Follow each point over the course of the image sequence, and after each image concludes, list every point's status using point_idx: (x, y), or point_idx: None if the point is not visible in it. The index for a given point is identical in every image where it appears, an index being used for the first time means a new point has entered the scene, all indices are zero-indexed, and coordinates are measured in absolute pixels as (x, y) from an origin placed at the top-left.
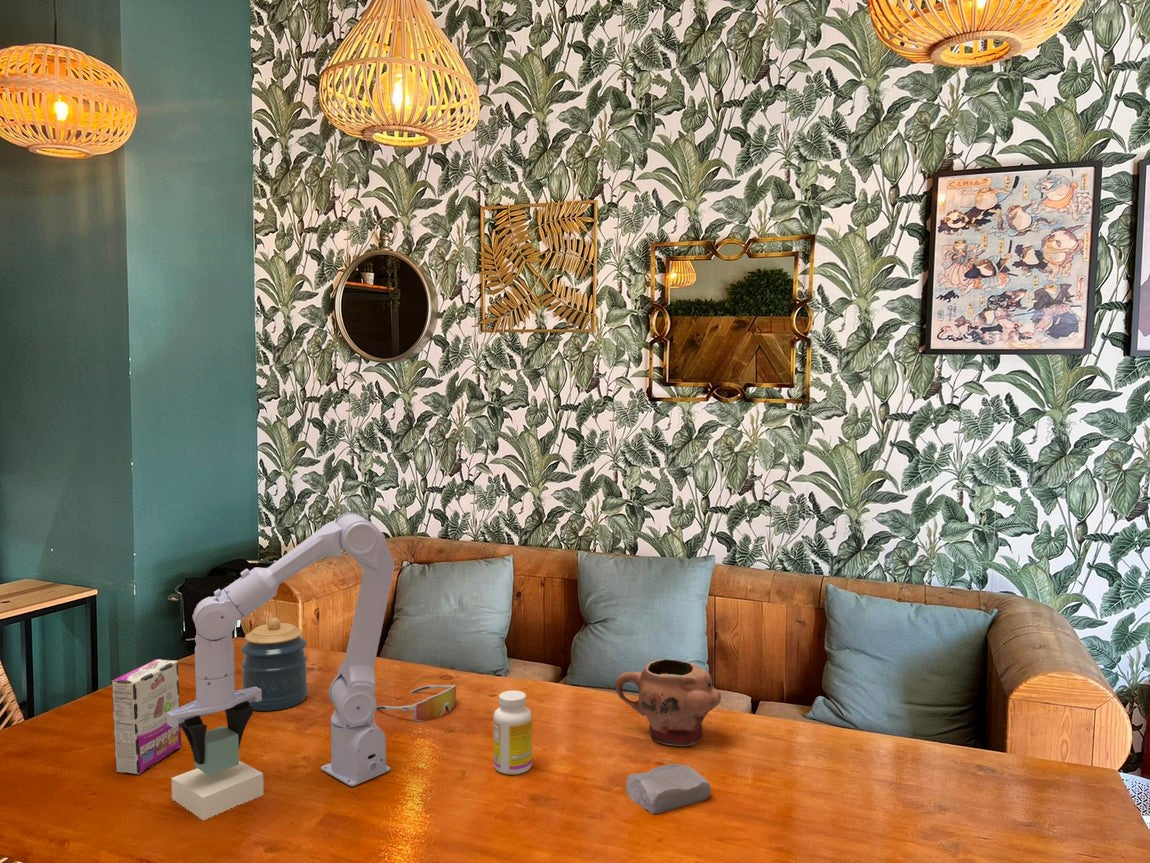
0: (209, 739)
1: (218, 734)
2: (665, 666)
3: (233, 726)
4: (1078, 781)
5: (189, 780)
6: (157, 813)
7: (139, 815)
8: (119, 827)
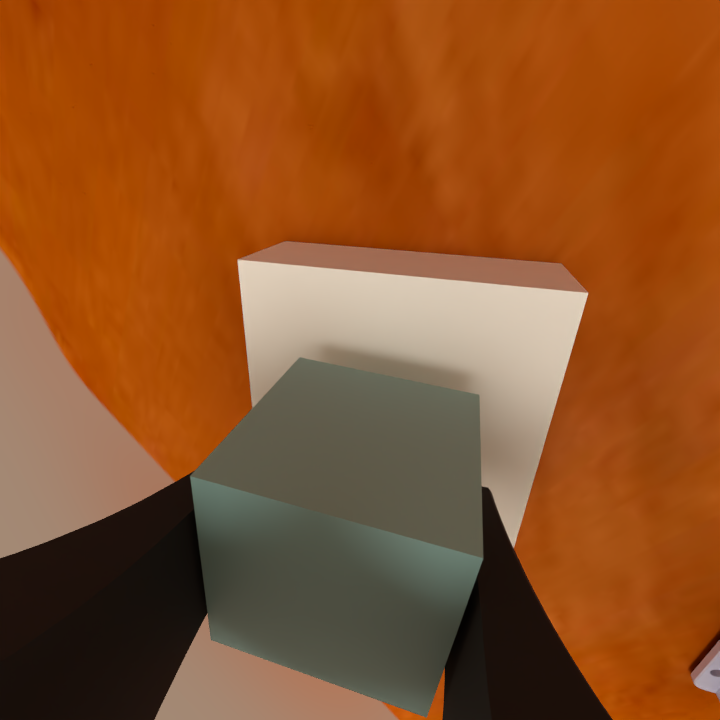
0: (251, 612)
1: (334, 619)
2: None
3: (457, 707)
4: None
5: (284, 354)
6: (215, 290)
7: (168, 250)
8: (107, 270)
